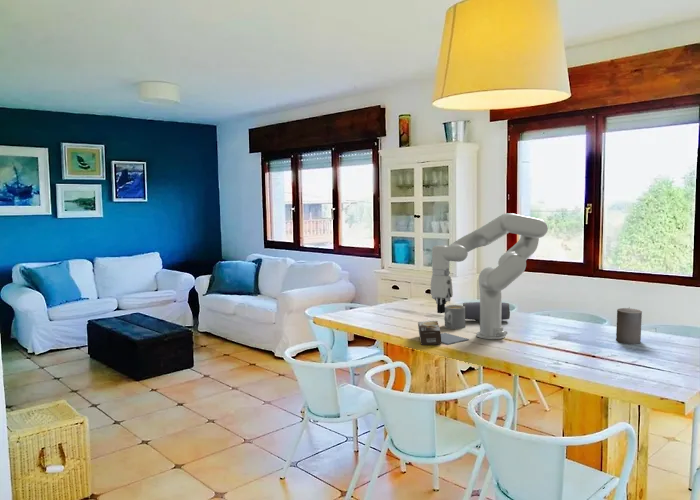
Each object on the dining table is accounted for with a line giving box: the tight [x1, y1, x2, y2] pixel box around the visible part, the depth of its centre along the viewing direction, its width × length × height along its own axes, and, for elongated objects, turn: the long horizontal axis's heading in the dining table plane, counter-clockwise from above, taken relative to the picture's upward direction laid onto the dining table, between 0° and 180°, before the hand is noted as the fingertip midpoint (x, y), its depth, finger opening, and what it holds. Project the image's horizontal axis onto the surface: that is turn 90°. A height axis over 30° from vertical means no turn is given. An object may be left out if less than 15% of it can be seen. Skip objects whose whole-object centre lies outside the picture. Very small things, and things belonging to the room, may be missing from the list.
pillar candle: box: [615, 307, 643, 345], centre depth 240 cm, size 10×10×15 cm
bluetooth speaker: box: [462, 301, 511, 323], centre depth 285 cm, size 23×9×10 cm, turn 84°
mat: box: [441, 332, 470, 346], centre depth 250 cm, size 15×13×1 cm
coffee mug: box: [443, 304, 466, 330], centre depth 272 cm, size 13×10×10 cm
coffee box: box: [417, 320, 442, 346], centre depth 247 cm, size 9×6×16 cm
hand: (441, 312), depth 251 cm, fingers closed
